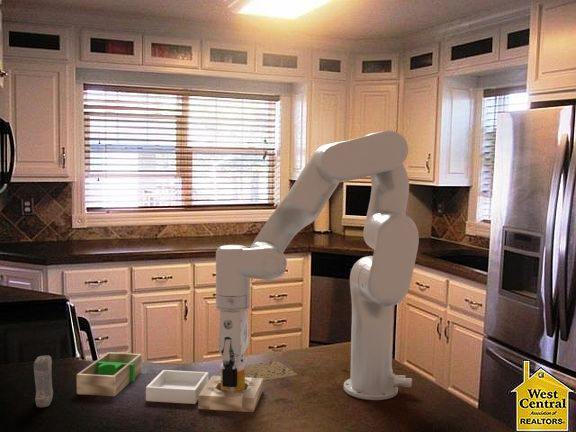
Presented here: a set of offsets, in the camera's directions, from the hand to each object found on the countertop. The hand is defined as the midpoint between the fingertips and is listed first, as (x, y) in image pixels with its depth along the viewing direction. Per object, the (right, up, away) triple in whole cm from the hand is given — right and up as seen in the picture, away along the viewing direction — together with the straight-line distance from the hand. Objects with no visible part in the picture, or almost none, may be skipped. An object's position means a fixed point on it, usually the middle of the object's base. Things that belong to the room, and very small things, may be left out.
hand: (232, 380), depth 124 cm
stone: (-41, -4, -3) cm, 41 cm away
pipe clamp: (-30, -3, +10) cm, 32 cm away
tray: (-13, -4, +4) cm, 14 cm away
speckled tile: (+7, -4, +19) cm, 20 cm away
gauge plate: (0, -4, 0) cm, 4 cm away
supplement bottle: (0, -4, 0) cm, 4 cm away
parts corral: (-30, -3, +10) cm, 32 cm away
